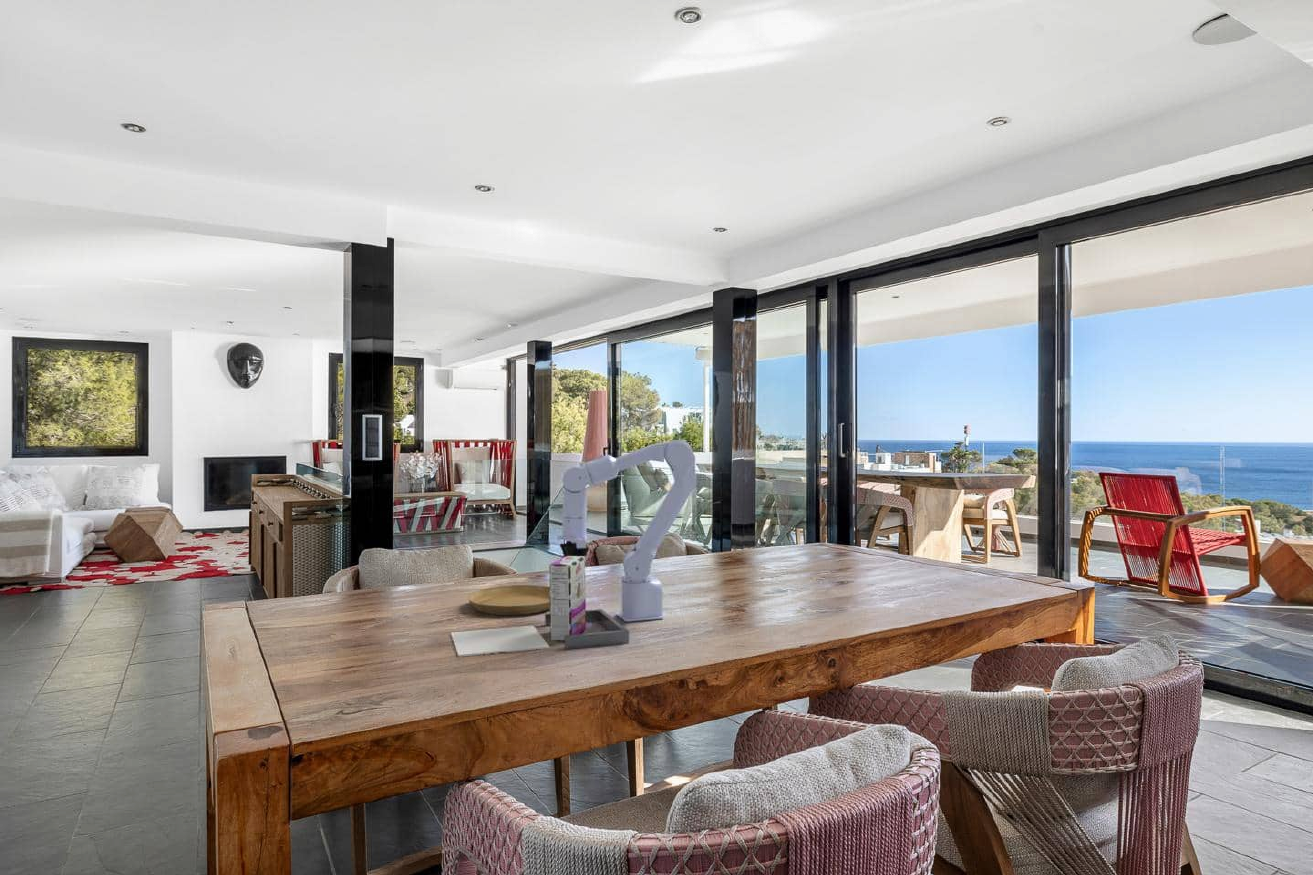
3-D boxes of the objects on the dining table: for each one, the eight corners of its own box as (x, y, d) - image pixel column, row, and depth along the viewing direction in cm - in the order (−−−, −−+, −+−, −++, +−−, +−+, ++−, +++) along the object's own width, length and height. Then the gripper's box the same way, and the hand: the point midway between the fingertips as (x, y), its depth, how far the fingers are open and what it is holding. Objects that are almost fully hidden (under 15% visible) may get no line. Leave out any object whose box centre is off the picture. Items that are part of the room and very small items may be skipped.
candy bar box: (565, 627, 170) (565, 555, 170) (586, 629, 169) (586, 556, 169) (548, 641, 159) (548, 563, 159) (571, 642, 158) (571, 564, 158)
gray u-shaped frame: (601, 619, 177) (601, 608, 177) (628, 642, 157) (628, 630, 157) (544, 624, 173) (544, 613, 173) (565, 649, 153) (565, 636, 153)
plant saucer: (544, 620, 178) (544, 606, 178) (450, 615, 182) (450, 602, 182) (576, 599, 201) (576, 586, 201) (491, 595, 206) (491, 583, 206)
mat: (533, 627, 170) (533, 625, 170) (549, 648, 153) (549, 646, 153) (450, 634, 164) (450, 632, 164) (458, 656, 147) (458, 654, 147)
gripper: (551, 514, 184) (550, 570, 184) (564, 521, 170) (563, 580, 170) (579, 514, 186) (578, 568, 186) (595, 520, 173) (594, 579, 173)
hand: (573, 574), depth 179 cm, fingers open, 3 cm apart
